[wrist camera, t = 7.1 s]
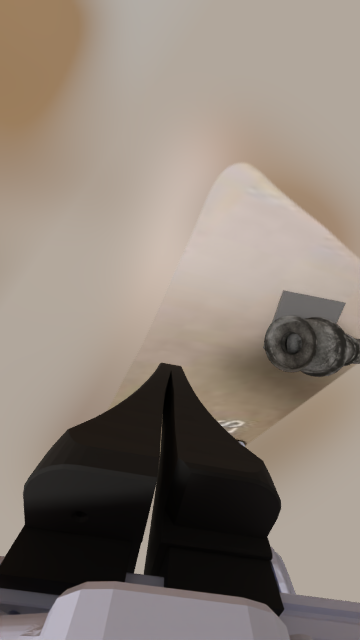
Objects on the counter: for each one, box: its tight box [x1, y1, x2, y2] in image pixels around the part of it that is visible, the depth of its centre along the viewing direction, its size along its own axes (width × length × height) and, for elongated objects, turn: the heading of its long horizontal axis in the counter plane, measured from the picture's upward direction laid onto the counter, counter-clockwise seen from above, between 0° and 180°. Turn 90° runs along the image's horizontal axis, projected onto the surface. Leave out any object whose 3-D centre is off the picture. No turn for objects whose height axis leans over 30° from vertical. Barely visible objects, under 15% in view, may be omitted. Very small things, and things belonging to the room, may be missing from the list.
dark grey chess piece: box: [264, 315, 360, 377], centre depth 18 cm, size 6×6×12 cm
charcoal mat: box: [263, 291, 345, 349], centre depth 20 cm, size 7×7×1 cm
